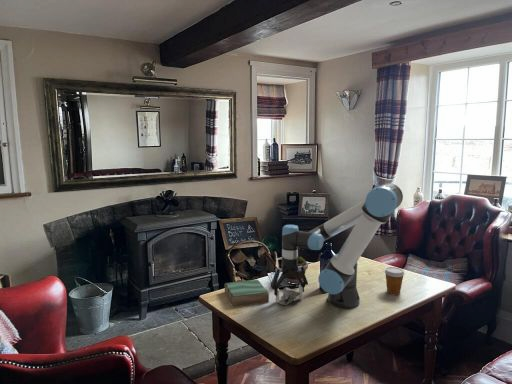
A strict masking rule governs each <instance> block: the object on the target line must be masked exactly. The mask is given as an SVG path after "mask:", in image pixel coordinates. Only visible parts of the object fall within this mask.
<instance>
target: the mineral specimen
mask: <svg viewBox="0 0 512 384" xmlns="http://www.w3.org/2000/svg"><path fill="white" fill-rule="evenodd" d="M299 295H300V293H299V291H296V290H294V289H292V288H289V287H284V288H283V293H282V295H280V299H279V305H280V306H287V305H289V304H290V303H292V302H293V301H294V300H296V299H297V297H299Z"/></svg>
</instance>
